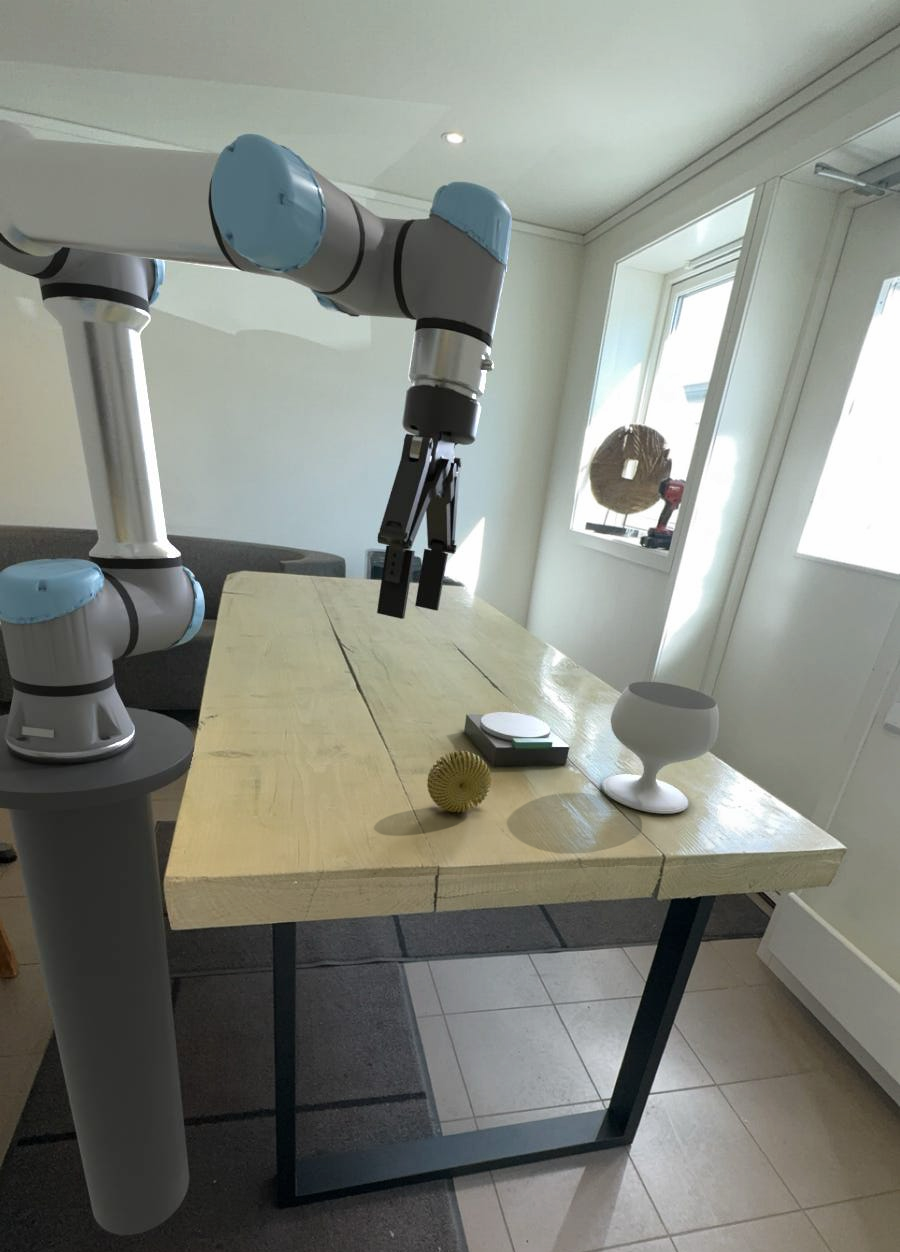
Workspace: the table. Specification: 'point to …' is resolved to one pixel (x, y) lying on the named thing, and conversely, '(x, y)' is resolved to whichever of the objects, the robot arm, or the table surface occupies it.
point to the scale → (515, 739)
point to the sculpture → (459, 781)
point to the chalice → (660, 740)
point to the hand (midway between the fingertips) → (410, 612)
